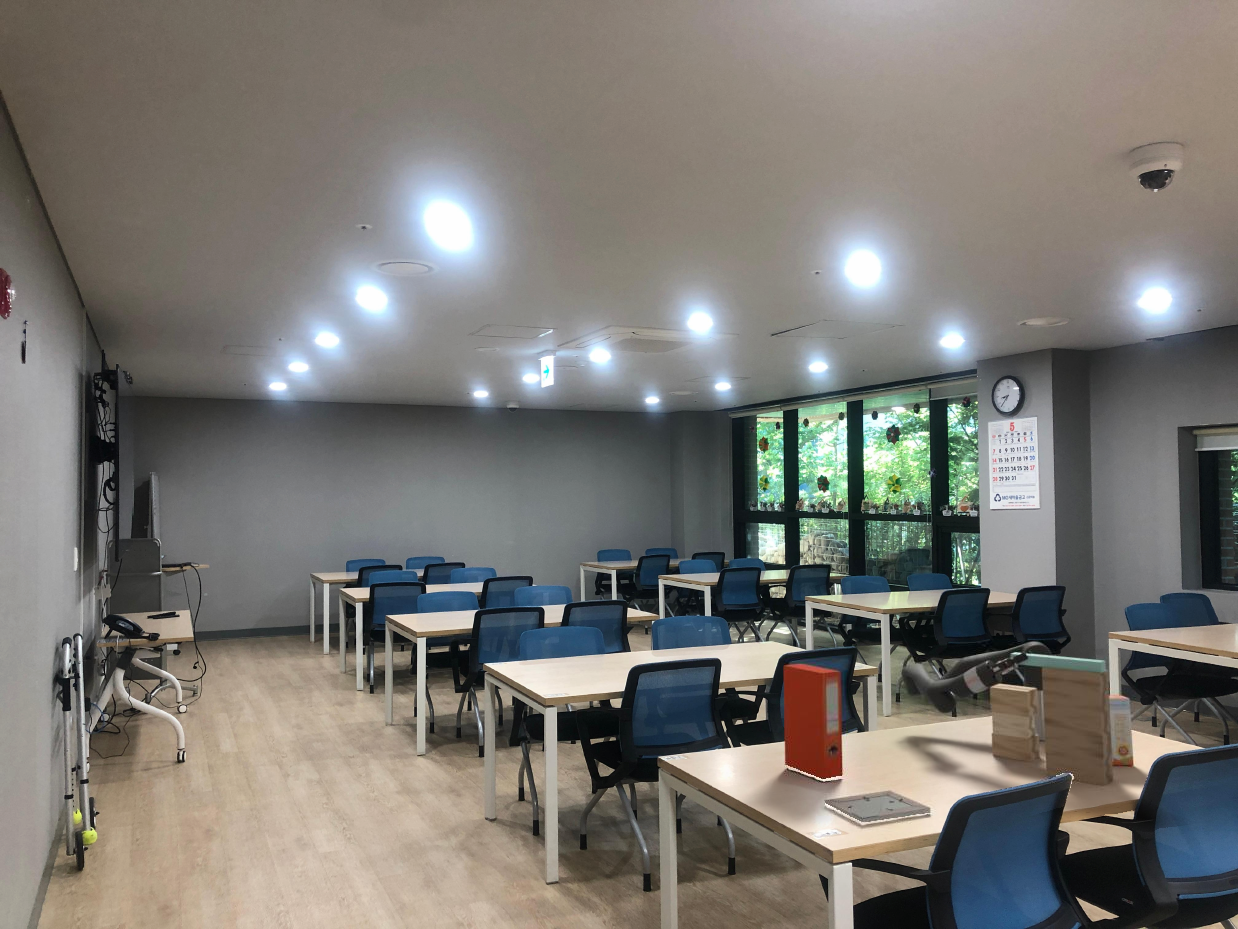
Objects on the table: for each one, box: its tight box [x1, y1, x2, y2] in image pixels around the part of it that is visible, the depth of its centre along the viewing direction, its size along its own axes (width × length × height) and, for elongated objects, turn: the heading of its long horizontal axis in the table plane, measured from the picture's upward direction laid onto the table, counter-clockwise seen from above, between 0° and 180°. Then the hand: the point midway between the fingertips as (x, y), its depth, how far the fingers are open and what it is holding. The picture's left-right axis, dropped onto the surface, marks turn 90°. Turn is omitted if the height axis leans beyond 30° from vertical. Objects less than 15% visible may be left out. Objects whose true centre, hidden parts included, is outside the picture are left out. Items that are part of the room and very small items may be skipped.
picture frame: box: [824, 790, 932, 822], centre depth 235 cm, size 16×2×22 cm
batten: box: [1011, 652, 1107, 673], centre depth 269 cm, size 4×26×3 cm, turn 45°
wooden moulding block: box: [1042, 667, 1114, 787], centre depth 264 cm, size 8×16×32 cm, turn 45°
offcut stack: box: [989, 683, 1041, 763], centre depth 288 cm, size 8×12×22 cm
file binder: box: [783, 663, 844, 779], centre depth 271 cm, size 8×17×32 cm, turn 29°
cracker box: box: [1109, 694, 1134, 766], centre depth 278 cm, size 14×6×21 cm, turn 84°
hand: (1028, 654), depth 274 cm, fingers closed on batten, 4 cm apart
